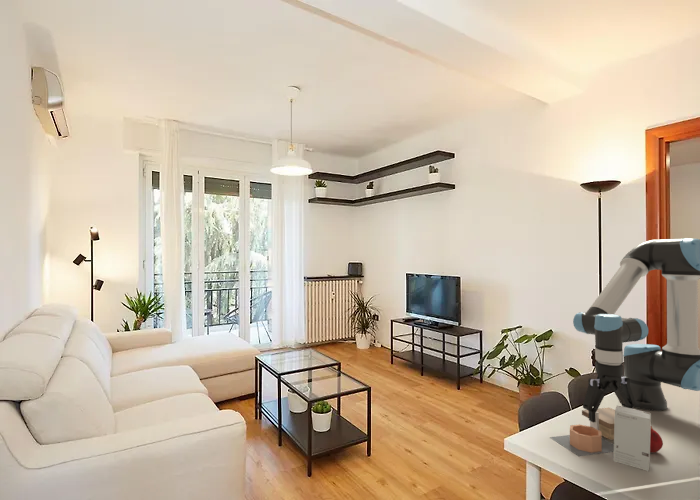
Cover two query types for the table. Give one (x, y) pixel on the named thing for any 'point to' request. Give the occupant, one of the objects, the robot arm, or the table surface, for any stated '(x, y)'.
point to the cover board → (604, 416)
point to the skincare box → (632, 437)
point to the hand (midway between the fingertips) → (609, 429)
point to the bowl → (585, 438)
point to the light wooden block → (606, 432)
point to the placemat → (565, 442)
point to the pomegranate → (655, 441)
